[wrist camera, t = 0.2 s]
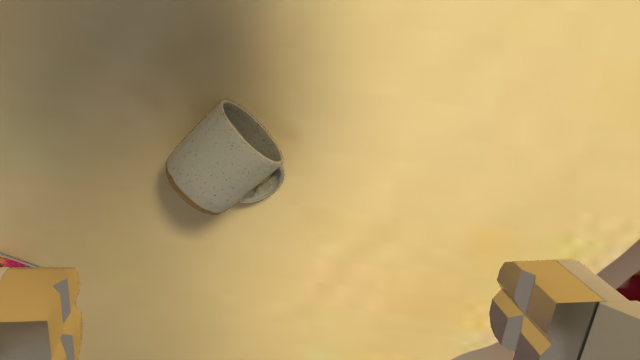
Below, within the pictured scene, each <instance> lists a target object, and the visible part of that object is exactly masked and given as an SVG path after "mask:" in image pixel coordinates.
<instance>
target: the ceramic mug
mask: <svg viewBox="0 0 640 360" xmlns="http://www.w3.org/2000/svg"><path fill="white" fill-rule="evenodd" d="M282 163H283V156H282V154H281V151H280V149H279V147H278V145H277V144H276V142H275V141H274V139H273V138H272V137H271V135H270V134H269V133H268V132H267V130H266V129H265V128H264V127H263V126H262V125H261V124H260V123H259V122H258V121H257V120H256V119H255V118H254V117H253V116H252V115H251V114H250V113H248V112H247V111H246V110H245V109H243V108H242V107H241V106H239V105H238V104H236V103H234V102H232V101H229V100H222V101H220V102H219V103H218V104H217V105H216V106H215V107H214V108H213V109H212V111H211V112H210V113H209V114H208V115H207V116H206V117H205V118H204V119H203V120H202V121H201V122H200V123H199V124H198V125H197V126H196V127H195V128H194V129H193V130H192V132H191V133H190V134H189V135H188V136H187V137H186V138H185V139H184V140H183V141H182V142H181V143H179V145H178V146H177V147H176V148H175V149H174V151H173V152H172V154H171V155H170V156H169V158H168V160H167V163H166V172H167V176H168V179H169V181H170V183H171V185H172V186H173V188H174V189H175V190H176V192H177V193H178V194H179V195H180V196H181V197H182V198H183V199H184V200H185V201H186V202H187V203H188V204H190V205H191V206H192V207H194V208H195V209H197V210H199V211H201V212H204V213H207V214H220V213H222V212H224V211H226V210H227V209H229V208H231V207H232V206H233V205H235V204H236V203H237V202H239V203H247V204H249V203H254V202H258V201H261V200H263V199H265V198H267V197H268V196H270V195H271V194H273V193H274V192H275V191H276V190H277V189H278V188H279V187H280V186H281V184H282V183H283V180H284V169H283V166H282ZM275 170H276V172H275V173H274V174H273V176H272V177H271V178H270V179H268V180H267V181H266V182H265V183H263V184H262V185H261V186H259V187H257V188H256V189H254V190H252V189H253V188H254V187H256V186H257V185H258V184H259V183H261V182H262V181H263V180H264V179H266V178H267V177H268V176H269V175H270V174H272V173H273V172H274V171H275Z"/></svg>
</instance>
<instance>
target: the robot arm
mask: <svg viewBox="0 0 640 360" xmlns="http://www.w3.org/2000/svg"><path fill="white" fill-rule="evenodd" d="M497 281H498V283H499V285H500V287H501V290H500V291H499V292H498V293H497V294H496V296H495V297H494V298H493V299H492V303H491V307H490V312H489V314H490V323H491V328H492V330H493V333H494V335H495V337H496V338H497V340H498V341H499V342H500V344H501V345H503V346H505V347H506V348H508V349H510V350H512V351H514V357H513V360H640V302H638V301H629V300H628V299H626V298H625V297H624V296H623V295H621V294H620V293H619V292H617V291H616V290H615V289H614V288H612V287H611V286H609V284H607V283H606V282H605V281H603V280H602V279H601V278H600V277H598V276H597V275H596V274H595V273H593V272H592V271H591V270H589V269H588V268H587V267H586V266H584V265H583V264H582V263H581V262H579V261H577V260H573V259H559V260H537V261H513V262H505V263H504V264H503V266H502V267H501V269H500V271H499V275H498V278H497ZM79 290H80V289H79V280H78V273H77V271H76V269H75V268H54V267H13V268H10V267H0V360H78V356H79V352H80V346H81V339H82V315H81V311H80V310H79V309H78V308H77V307H76V306H75V305H74V303H75V300H76V298H77V295H78V293H79Z"/></svg>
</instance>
